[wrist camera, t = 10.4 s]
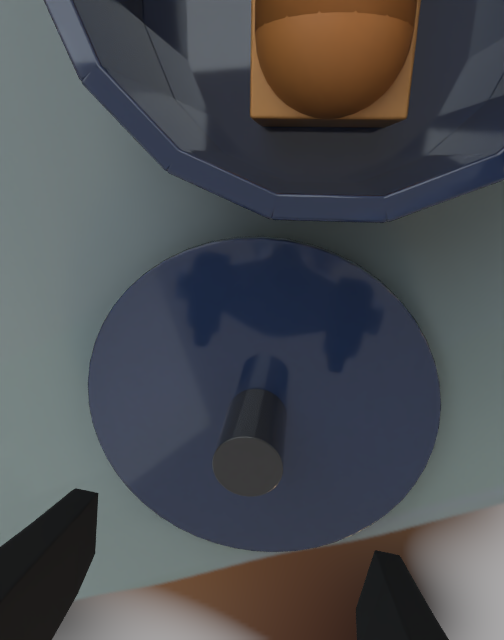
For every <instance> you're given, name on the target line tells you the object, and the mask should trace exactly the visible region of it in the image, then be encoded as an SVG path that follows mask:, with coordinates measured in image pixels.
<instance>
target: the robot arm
mask: <svg viewBox="0 0 504 640" xmlns="http://www.w3.org/2000/svg"><path fill="white" fill-rule="evenodd" d="M97 506H98V493H95V492H90V491H86V490H81V489H74V490H72V491H71V492H70V493H68V494H67V495H66V496H65V497H63V498H62V499H61V500H60V501H59V502H57V503H56V504H55V505H54V506H52V507H51V508H50V509H49V510H47V511H46V512H45V513H44V514H42V515H41V516H40V517H39V518H37V519H36V520H35V521H34V522H32V523H31V524H30V525H29V526H27V527H26V528H25V529H23V530H22V531H21V532H19V533H18V534H17V535H15V536H14V537H13V538H11V539H10V540H9V541H8V542H6V543H5V544H4V545H2V546H1V547H0V640H52V638H53V636H54V635H55V633H56V631H57V629H58V628H59V626H60V624H61V622H62V621H63V619H64V617H65V615H66V613H67V612H68V610H69V608H70V606H71V605H72V603H73V601H74V599H75V597H76V596H77V594H78V591H79V589H80V587H81V585H82V582H83V580H84V578H85V576H86V573H87V571H88V569H89V566H90V564H91V562H92V559H93V557H94V555H95V545H96V526H97ZM356 624H357V640H449V639H448V638H447V636H446V634H445V633H444V631H443V630H442V628H441V626H440V625H439V623H438V621H437V620H436V618H435V616H434V615H433V613H432V611H431V610H430V608H429V606H428V604H427V603H426V601H425V599H424V598H423V596H422V594H421V592H420V591H419V589H418V587H417V585H416V583H415V582H414V580H413V578H412V576H411V575H410V573H409V571H408V570H407V567H406V566H405V564H404V562H403V560H402V559H401V557H400V556H399V555H395V554H391V553H385V552H381V551H375V552H374V555H373V558H372V561H371V564H370V567H369V570H368V573H367V577H366V580H365V583H364V586H363V589H362V592H361V595H360V598H359V601H358V604H357V607H356Z"/></svg>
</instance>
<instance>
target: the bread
mask: <svg viewBox="0 0 504 640" xmlns="http://www.w3.org/2000/svg"><path fill="white" fill-rule="evenodd" d="M420 4H421V0H251V72H250V117H251V118H252V119H253V120H254V121H256V122H257V123H258V124H260V125H261V126H267V127H381V128H385V127H388V126H390V125H392V124H395V123H397V122H400V121H402V120H405V119H406V118H407V116H408V107H409V99H410V90H411V81H412V73H413V64H414V56H415V47H416V38H417V30H418V21H419V13H420Z"/></svg>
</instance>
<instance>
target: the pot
mask: <svg viewBox="0 0 504 640" xmlns="http://www.w3.org/2000/svg"><path fill="white" fill-rule="evenodd" d="M44 2H45V4H46V6H47V9H48V11H49V13H50V15H51V17H52V20H53V22H54V24H55V26H56V29H57V31H58V33H59V35H60V37H61V40H62V42H63V44H64V46H65V48H66V51H67V53H68V55H69V57H70V59H71V62H72V64H73V66H74V68H75V70H76V73H77V75H78V77H79V79H80V80H81V81H82V84H83V85H84V86H85V87H86V88H87V89H88V91H89V92H90V93H91V94H92V95H93V96H94V97H95V98H96V99H97V100H98V101H99V102H100V103H101V104H102V105H103V106H104V107H105V108H106V109H107V110H108V111H109V112H110V113H111V115H112V116H113V117H114V118H115V119H116V120H117V121H118V122H119V123H120V124H121V125H122V126H123V127H124V128H125V129H126V130H127V131H128V132H129V133H130V134H131V135H132V136H133V138H134V139H135V140H136V141H137V142H138V143H139V144H140V145H141V146H142V147H143V148H144V149H145V150H146V151H147V152H148V153H149V154H150V155H151V156H152V157H153V158H154V159H155V161H156V162H157V163H158V164H159V165H160V166H161V167H162V168H163V169H164V170H166V171H168V173H169V174H172V175H174V176H176V177H178V178H180V179H183V180H185V181H187V182H189V183H191V184H194V185H196V186H198V187H200V188H202V189H204V190H207V191H209V192H211V193H213V194H215V195H218V196H220V197H222V198H224V199H226V200H229V201H231V202H233V203H235V204H237V205H240V206H242V207H244V208H246V209H248V210H251V211H253V212H255V213H257V214H259V215H262V216H264V217H266V218H268V219H271V218H272V219H273V220H300V221H335V222H370V223H384V222H386V221H387V222H391V221H393V220H396V219H399V218H402V217H404V216H407V215H410V214H412V213H415V212H418V211H421V210H423V209H426V208H429V207H432V206H434V205H437V204H440V203H443V202H445V201H448V200H451V199H454V198H456V197H459V196H462V195H464V194H467V193H470V192H473V191H475V190H478V189H481V188H484V187H486V186H489V185H492V184H495V183H497V182H500V181H503V180H504V0H421V4H420V13H419V21H418V30H417V38H416V47H415V56H414V64H413V73H412V81H411V90H410V99H409V107H408V116H407V118H406V119H405V120H402V121H400V122H397V123H395V124H392V125H390V126H388V127H385V128H381V127H267V126H261V125H260V124H258V123H257V122H256V121H254V120H253V119H252V118H251V117H250V72H251V0H44Z"/></svg>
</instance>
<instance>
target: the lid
mask: <svg viewBox="0 0 504 640" xmlns="http://www.w3.org/2000/svg"><path fill="white" fill-rule="evenodd" d="M88 395H89V406H90V411H91V417H92V422H93V425H94V428H95V431H96V434H97V437H98V440H99V442H100V445H101V447H102V449H103V451H104V453H105V455H106V457H107V459H108V461H109V462H110V464H111V465H112V467H113V468H114V470H115V472H116V473H117V475H118V476H119V477H120V478H121V480H122V481H123V482H124V483H125V484H126V486H127V487H128V488H129V489H130V490H131V491H132V492H133V493H134V494H135V495H136V496H137V497H138V498H139V499H140V500H141V501H142V502H143V503H144V504H145V505H146V506H148V507H149V508H150V509H151V510H153V511H154V512H155V513H157V514H158V515H159V516H160V517H162V518H164V519H165V520H167V521H168V522H170V523H172V524H173V525H175V526H176V527H178V528H180V529H182V530H184V531H186V532H189V533H191V534H193V535H195V536H197V537H200V538H203V539H205V540H208V541H211V542H213V543H217V544H221V545H225V546H229V547H233V548H238V549H245V550H251V551H265V552H283V551H297V550H303V549H310V548H316V547H319V546H323V545H326V544H330V543H334V542H337V541H339V540H342V539H344V538H346V537H349V536H351V535H354V534H356V533H358V532H359V531H361V530H363V529H365V528H367V527H369V526H370V525H372V524H373V523H375V522H376V521H378V520H379V519H380V518H382V517H383V516H385V515H386V514H387V513H388V512H390V511H391V510H392V509H393V508H394V507H395V506H396V505H397V504H398V503H399V502H400V501H401V500H402V499H403V498H404V497H405V496H406V495H407V493H408V492H409V491H410V490H411V488H412V487H413V486H414V485H415V483H416V482H417V480H418V478H419V477H420V475H421V473H422V472H423V470H424V468H425V467H426V465H427V462H428V460H429V458H430V455H431V453H432V450H433V448H434V444H435V441H436V437H437V433H438V429H439V421H440V410H441V398H440V383H439V379H438V374H437V370H436V365H435V361H434V359H433V356H432V353H431V351H430V348H429V346H428V343H427V340H426V339H425V337H424V335H423V333H422V332H421V330H420V328H419V326H418V325H417V323H416V321H415V319H414V318H413V317H412V315H411V314H410V313H409V311H408V310H407V309H406V308H405V306H404V305H403V304H402V302H401V301H400V300H399V299H398V297H397V296H395V295H394V294H393V293H392V292H391V291H390V290H389V289H388V288H387V287H386V286H385V285H384V284H383V283H382V282H381V281H380V280H379V279H377V278H376V277H374V276H373V275H372V274H370V273H369V272H368V271H366V270H365V269H363V268H362V267H361V266H359V265H357V264H355V263H354V262H352V261H350V260H348V259H346V258H344V257H342V256H341V255H339V254H337V253H334V252H331V251H329V250H326V249H323V248H321V247H318V246H315V245H313V244H308V243H304V242H300V241H296V240H291V239H286V238H276V237H266V236H251V237H234V238H228V239H222V240H216V241H211V242H208V243H204V244H201V245H198V246H195V247H192V248H189V249H186V250H184V251H182V252H180V253H178V254H176V255H174V256H172V257H169V258H167V259H166V260H164V261H163V262H161V263H160V264H158V265H157V266H155V267H154V268H152V269H151V270H149V271H148V272H146V273H145V274H144V275H143V276H141V277H140V278H139V279H138V280H137V281H136V282H135V283H134V284H133V285H131V286H130V287H129V288H128V289H127V290H126V292H125V293H124V294H123V295H122V296H121V298H120V299H119V300H118V301H117V302H116V303H115V305H114V306H113V308H112V309H111V311H110V313H109V314H108V316H107V318H106V319H105V321H104V323H103V325H102V327H101V329H100V332H99V334H98V337H97V339H96V341H95V344H94V348H93V352H92V356H91V360H90V367H89V377H88Z"/></svg>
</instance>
